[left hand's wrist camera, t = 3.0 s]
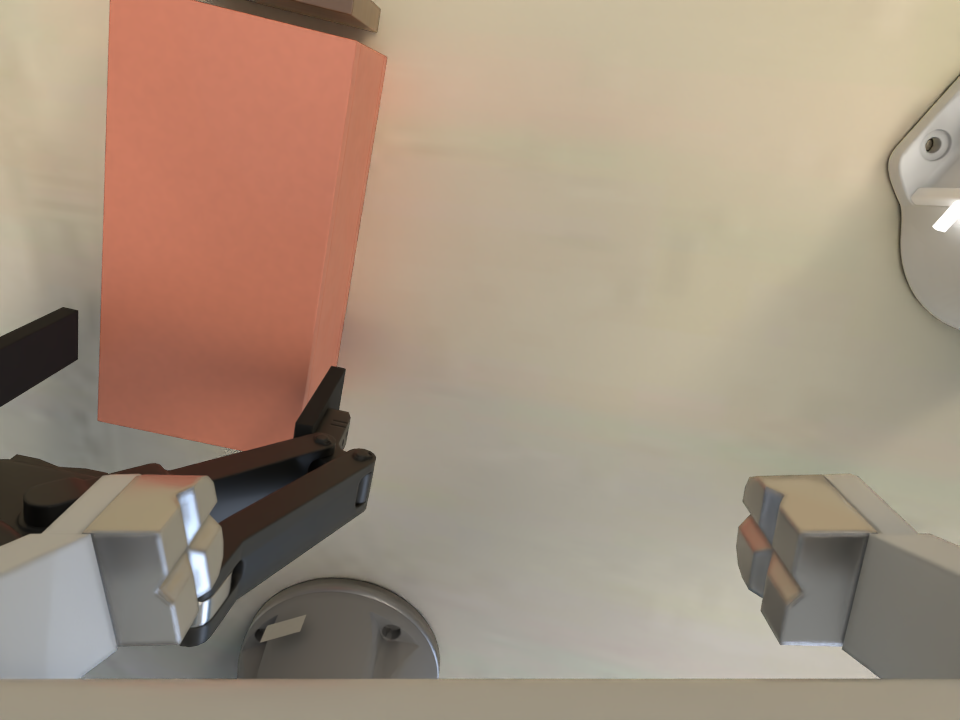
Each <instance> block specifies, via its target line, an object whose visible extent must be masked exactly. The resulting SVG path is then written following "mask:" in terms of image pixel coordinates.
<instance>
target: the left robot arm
mask: <svg viewBox="0 0 960 720" xmlns="http://www.w3.org/2000/svg"><path fill="white" fill-rule="evenodd" d="M930 138H932V139H933V147H932V148H931V149H930V150H929V151H928V152H927V151H926V148H925V146H926V143H927V141H928V140H929V139H930ZM888 173H889V177H890V180H891V183H892V186H893V189H894V191H895V194H896V196H897V198H898V201H899V203H900V205H901V215H902V222H901V240H900V247H901V259H902V265H903V269H904V273H905V276H906V279H907V281H908V284H909V286H910V288H911V290H912V292H913V293H914V295H915V297H916V298H917V299H918V301H919V302H920V303H921V304H922V306H923V307H924V308H925V309H926V310H927V311H928V312H929V313H931V314H932V315H933V316H934V317H936V318H937V319H939V320H940V321H942V322H943V323H945V324H947V325H949V326H951V327H954V328H956V329H959V330H960V76H959V77H958V78H957V80H956V81H955V82H954V83H953V84H952V85H951V86H950V87H949V88H948V90H947V91H946V92H945V93H944V94H943V95H942V96H941V97H940V99H939V100H938V101H937V102H936V103H935V104H934V105H933V106H932V107H931V109H930V110H929V111H928V112H927V113H926V114H925V115H924V116H923V117H922V119H921V120H920V121H919V122H918V123H917V124H916V125H915V126H914V127H913V129H912V130H911V131H910V132H909V133H908V134H907V135H906V136H905V138H904V139H903V140H902V141H901V142H900V143H899V144H898V145H897V147H896V148H895V149H894V150H893V152H892V154H891V155H890V158H889V162H888ZM216 503H217V497H216V492H215V487H214V482H213V481H212V480H211V479H210V478H209V477H208V476H199V475H147V474H144V475H141V474H112V475H104V476H102V477H101V478H100V479H99V480H98V481H97V482H96V483H94V484H93V485H92V486H91V487H90V488H89V489H88V490H87V491H86V492H85V493H84V494H83V495H82V496H81V497H80V498H79V499H78V500H76V501H75V502H74V503H73V504H72V505H71V506H70V507H69V508H68V509H67V510H66V511H65V512H64V513H63V514H62V515H61V516H59V517H58V518H57V519H56V520H55V521H54V522H53V523H52V524H51V525H50V526H49V527H48V528H47V529H46V530H45V531H44V532H43V533H41V534H28V535H26V536H24V537H21V538H19V539H17V540H14V541H12V542H9V543H7V544H5V545H2V546H0V720H960V546H958V545H955V544H953V543H951V542H948V541H946V540H943V539H941V538H939V537H936V536H934V535H932V534H919V533H917V532H916V531H915V530H914V529H913V528H912V527H911V526H910V525H909V524H908V523H907V522H906V521H905V520H904V519H903V518H902V517H901V516H900V515H898V514H897V513H896V512H895V511H894V510H893V509H892V508H891V507H890V506H889V505H888V504H887V503H886V502H885V501H884V500H883V499H882V498H881V497H879V496H878V495H877V494H876V493H875V492H874V491H873V490H872V489H871V488H870V487H869V486H868V485H867V484H866V483H865V482H864V481H863V480H862V479H860V478H859V477H858V476H855V475H852V474H828V475H782V476H754V477H749V479H748V482H747V484H746V486H745V490H744V496H743V503H744V505H745V506H746V508H747V509H748V511H749V512H750V515H749V516H748V518H747V519H746V520H745V521H744V522H743V523H742V524H741V525H740V526H739V527H738V535H737V544H736V549H737V559H738V566H739V569H740V572H741V575H742V578H743V580H744V582H745V584H746V586H747V587H748V589H749V590H750V591H752V592H754V593H755V594H757V595H758V596H760V597H761V598H763V600H762V605H761V612H762V614H763V616H764V617H765V619H766V621H767V623H768V624H769V626H770V628H771V630H772V631H773V633H774V635H775V637H776V638H777V640H778V642H779V644H780V645H810V646H843V647H842V649H843V650H844V651H845V652H846V653H848V654H849V655H850V656H852V657H853V658H854V659H856V660H857V661H858V662H860V663H861V664H862V665H863V666H865V667H866V668H867V669H869V670H870V671H871V672H873V673H874V674H875V675H877V676H878V677H879V678H881V679H80V678H81V677H82V676H84V675H85V674H86V673H88V672H89V671H90V670H91V669H93V668H94V667H95V666H97V665H98V664H99V663H101V662H102V661H103V660H105V659H106V658H107V657H109V656H110V655H111V654H112V653H114V652H115V651H116V650H118V647H117V646H149V645H180V644H181V642H182V640H183V638H184V637H185V635H186V633H187V631H188V630H189V628H190V626H191V624H192V623H193V621H194V619H195V617H196V616H197V614H198V612H199V606H198V600H197V598H199V597H200V596H202V595H203V594H205V593H206V592H208V591H210V590H211V589H212V587H213V585H214V584H215V582H216V580H217V578H218V576H219V572H220V568H221V564H222V560H223V534H222V527H221V526H220V525H219V524H218V523H217V522H216V521H215V520H214V519H213V518H212V517H211V515H210V512H211V511H212V509H213V508H214V506H215V505H216Z"/></svg>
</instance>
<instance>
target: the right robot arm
mask: <svg viewBox="0 0 960 720" xmlns="http://www.w3.org/2000/svg"><path fill="white" fill-rule="evenodd" d="M77 359H78V310H74V309H69V308H65V307H62V308H60V309H58V310H56V311H54V312H52V313H50V314H47V315H45V316H43V317H41V318H39V319H37V320H35V321H33V322H31V323H28V324H26V325H24V326H22V327H20V328H18V329H16V330H14V331H12V332H9V333H7V334H5V335H3V336H1V337H0V407H1V406H3V405H4V404H6V403H8V402H9V401H11V400H12V399H14V398H16V397H17V396H19V395H21V394H22V393H24V392H25V391H27V390H29V389H30V388H32V387H34V386H35V385H37V384H38V383H40V382H42V381H43V380H45V379H47V378H48V377H50V376H51V375H53V374H55V373H56V372H58V371H60V370H61V369H63V368H64V367H66V366H68V365H69V364H71V363H73V362H74V361H76V360H77ZM345 370H346V369H344V368H339V367H335V366H331V367H330V369H329V370H328V372H327V373H326V375H325V377H324V378H323V380H322V381H321V383H320V384H319V386H318V388H317V389H316V391H315V392H314V394H313V396H312V397H311V399H310V400H309V402H308V404H307V405H306V407H305V408H304V410H303V411H302V413H301V415H300V416H299V418H298V419H297V421H296V423H295V429H294V436H293V439H289V440H285V441H281V442H277V443H274V444H270V445H266V446H262V447H258V448H254V449H251V450H247V451H243V452H239V453H235V454H231V455H228V456H224V457H220V458H216V459H212V460H209V461H205V462H201V463H197V464H193V465H189V466H186V467H182V468H178V469H174V470H169V471H167V470H164V468H163V467H162V466H161V465H159V464H156V463H152V464H146V465H142V466H138V467H134V468H130V469H126V470H122V471H118V472H114V473H110V474H108V473H105V472H100V471H95V470H90V469H84V468H67V467H58V466H55V465H53V464H50V463H48V462H45V461H43V460H40V459H37V458H32V457H27V456H22V455H15V456H14V457H13V458H11V459H0V546H2V545H5V544H7V543H9V542H12V541H14V540H17V539H19V538H21V537H24V536H26V535H28V534H41V533H43V532H44V531H45V530H46V529H47V528H48V527H49V526H50V525H51V524H52V523H53V522H54V521H55V520H56V519H57V518H58V517H59V516H61V515H62V514H63V513H64V512H65V511H66V510H67V509H68V508H69V507H70V506H71V505H72V504H73V503H74V502H75V501H76V500H78V499H79V498H80V497H81V496H82V495H83V494H84V493H85V492H86V491H87V490H88V489H89V488H90V487H91V486H92V485H93V484H94V483H96V482H97V481H98V480H99V479H100V478H101V477H102V476H104V475H112V474H141V475H144V474H147V475H199V476H208V477H209V478H210V479H211V480H212V481H213V482H214V487H215V492H216V497H217V503H216V505H215V506H214V508H213V509H212V511H211V512H210V515H211V517H212V518H213V519H214V520H215V521H216V522H217V523H218V524H219V525H220V526H221V527H222V534H223V560H222V564H221V568H220V572H219V576H218V578H217V580H216V582H215V584H214V585H213V587H212V589H211V590H210V591H208V592H206V593H205V594H203V595H202V596H200V597H199V598H197V600H198V606H199V612H198V614H197V616H196V617H195V619H194V621H193V623H192V624H191V626H190V628H189V630H188V631H187V633H186V635H185V637H184V638H183V640H182V642H181V644H180V646H186V647H191V646H197V645H200V644H202V643H204V642H205V641H206V640H208V639H209V638H210V637H211V635H212V634H213V632H214V631H215V630H216V628H217V627H218V625H219V624H220V622H221V621H222V620H223V618H224V617H225V615H226V614H227V613H228V611H229V610H230V608H231V607H232V606H233V604H234V603H235V601H236V600H237V599H239V598H240V597H241V596H243V595H244V594H246V593H247V592H249V591H250V590H252V589H253V588H254V587H256V586H257V585H259V584H260V583H262V582H263V581H264V580H266V579H267V578H269V577H270V576H272V575H273V574H275V573H276V572H277V571H279V570H280V569H282V568H283V567H285V566H286V565H287V564H289V563H290V562H292V561H293V560H295V559H296V558H298V557H299V556H300V555H302V554H303V553H305V552H306V551H308V550H309V549H310V548H312V547H313V546H315V545H316V544H318V543H319V542H320V541H322V540H323V539H325V538H326V537H328V536H329V535H331V534H332V533H333V532H335V531H336V530H338V529H339V528H341V527H342V526H343V525H345V524H346V523H348V522H349V521H351V520H352V519H354V518H355V517H356V516H358V515H359V514H361V513H362V512H364V510H365V509H366V506H367V501H368V497H369V492H370V487H371V481H372V476H373V471H374V465H375V460H376V456H375V455H374V454H373V453H372V452H371V451H368V450H365V449H352V450H349V451H347V452H345V451H344V450H343V449H344V447H345V445H346V441H347V435H348V429H349V424H350V415H349V412H345V411H341V410H339V406H340V400H341V394H342V388H343V382H344V376H345ZM439 667H440V655H439V649H438V645H437V641H436V639H435V636H434V634H433V632H432V630H431V628H430V626H429V625H428V623H427V622H426V621H425V619H424V618H423V617H422V616H421V615H420V613H419V612H418V611H417V610H416V609H415V608H413V607H412V606H411V605H410V604H409V603H407V602H406V601H405V600H403V599H402V598H400V597H399V596H397V595H395V594H394V593H392V592H390V591H388V590H386V589H383V588H381V587H379V586H376V585H373V584H370V583H366V582H362V581H357V580H351V579H340V578H329V579H318V580H312V581H307V582H303V583H300V584H297V585H294V586H292V587H290V588H287V589H285V590H283V591H282V592H280V593H278V594H277V595H275V596H274V597H272V598H271V599H270V600H269V601H268V602H267V603H265V604H264V605H263V606H262V608H261V609H260V610H259V611H258V613H257V614H256V616H255V617H254V619H253V621H252V623H251V625H250V627H249V629H248V631H247V633H246V635H245V638H244V640H243V643H242V647H241V651H240V655H239V661H238V675H237V679H438V677H439Z"/></svg>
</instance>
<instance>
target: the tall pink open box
mask: <svg viewBox="0 0 960 720" xmlns="http://www.w3.org/2000/svg"><path fill="white" fill-rule="evenodd" d="M386 62H387V57H386V56H384V55H382V54H380V53H379V52H377V51H375V50H373V49H371V48H369V47H367V46H365V45H363V44H361V43H360V42H358V41H356V40H352V39H348V38H344V37H340V36H336V35H332V34H328V33H324V32H320V31H316V30H312V29H308V28H304V27H300V26H296V25H292V24H287V23H283V22H279V21H275V20H271V19H267V18H263V17H259V16H255V15H251V14H247V13H243V12H239V11H235V10H231V9H227V8H223V7H219V6H215V5H211V4H207V3H203V2H199V1H195V0H110V15H109V49H108V83H107V117H106V151H105V185H104V219H103V253H102V287H101V321H100V355H99V389H98V421H101V422H106V423H110V424H115V425H120V426H125V427H130V428H134V429H139V430H144V431H149V432H154V433H159V434H163V435H168V436H173V437H178V438H183V439H187V440H192V441H197V442H202V443H207V444H211V445H216V446H221V447H226V448H231V449H236V450H240V451H247V450H251V449H254V448H258V447H262V446H266V445H270V444H274V443H277V442H281V441H285V440H289V439H293V436H294V429H295V423H296V421H297V419H298V418H299V416H300V415H301V413H302V411H303V410H304V408H305V407H306V405H307V404H308V402H309V400H310V399H311V397H312V396H313V394H314V392H315V391H316V389H317V388H318V386H319V384H320V383H321V381H322V380H323V378H324V377H325V375H326V373H327V372H328V370H329V369H330V367H331V366H335V367H337V361H338V355H339V349H340V343H341V337H342V331H343V325H344V319H345V312H346V306H347V300H348V294H349V288H350V282H351V276H352V270H353V264H354V258H355V251H356V245H357V239H358V233H359V227H360V221H361V215H362V209H363V203H364V196H365V190H366V184H367V178H368V172H369V166H370V160H371V154H372V148H373V142H374V135H375V129H376V123H377V117H378V111H379V105H380V99H381V93H382V87H383V80H384V74H385V68H386Z"/></svg>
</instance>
